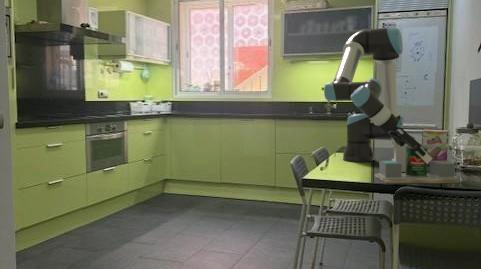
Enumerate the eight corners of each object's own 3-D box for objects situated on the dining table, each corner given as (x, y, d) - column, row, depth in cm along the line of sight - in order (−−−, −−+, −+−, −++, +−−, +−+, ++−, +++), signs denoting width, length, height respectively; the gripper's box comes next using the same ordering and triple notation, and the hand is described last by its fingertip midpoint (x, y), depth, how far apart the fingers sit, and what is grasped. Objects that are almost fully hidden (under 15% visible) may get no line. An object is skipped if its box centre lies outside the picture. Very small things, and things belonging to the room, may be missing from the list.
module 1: (379, 173, 185) (379, 160, 185) (394, 173, 185) (394, 160, 185) (385, 177, 177) (385, 163, 177) (401, 177, 177) (401, 163, 177)
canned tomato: (413, 177, 176) (414, 148, 175) (400, 174, 184) (401, 146, 183) (431, 176, 178) (432, 147, 177) (418, 173, 186) (419, 145, 185)
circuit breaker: (429, 173, 196) (430, 137, 195) (393, 172, 199) (394, 136, 198) (425, 170, 204) (426, 135, 202) (391, 169, 206) (392, 135, 205)
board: (374, 176, 188) (374, 174, 188) (444, 176, 188) (444, 173, 188) (385, 183, 174) (385, 180, 174) (460, 182, 174) (460, 180, 174)
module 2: (429, 173, 185) (430, 160, 185) (445, 173, 185) (445, 160, 185) (438, 176, 177) (438, 163, 177) (454, 176, 177) (454, 163, 177)
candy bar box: (420, 165, 217) (421, 130, 216) (423, 164, 222) (424, 129, 220) (446, 167, 211) (448, 131, 210) (448, 166, 215) (450, 130, 214)
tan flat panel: (375, 175, 186) (375, 173, 186) (446, 174, 186) (446, 172, 186) (383, 179, 176) (383, 177, 176) (458, 179, 176) (458, 177, 176)
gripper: (368, 124, 192) (403, 160, 193) (387, 129, 167) (428, 170, 168) (381, 111, 192) (417, 148, 193) (402, 114, 167) (443, 155, 168)
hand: (422, 158), depth 181 cm, fingers open, 13 cm apart
